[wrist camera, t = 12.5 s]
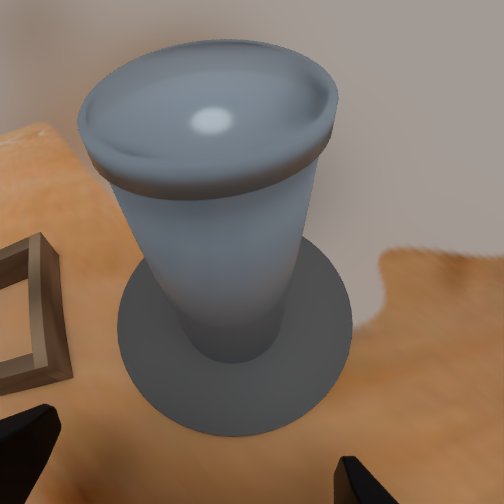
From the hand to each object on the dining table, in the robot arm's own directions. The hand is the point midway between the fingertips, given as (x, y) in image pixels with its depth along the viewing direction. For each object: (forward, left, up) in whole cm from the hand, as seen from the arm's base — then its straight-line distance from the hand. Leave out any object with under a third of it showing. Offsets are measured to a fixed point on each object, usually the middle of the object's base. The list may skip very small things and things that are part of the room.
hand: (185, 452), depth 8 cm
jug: (+6, +4, -8) cm, 11 cm away
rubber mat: (+7, +4, -8) cm, 11 cm away
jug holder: (-4, +16, -8) cm, 18 cm away
